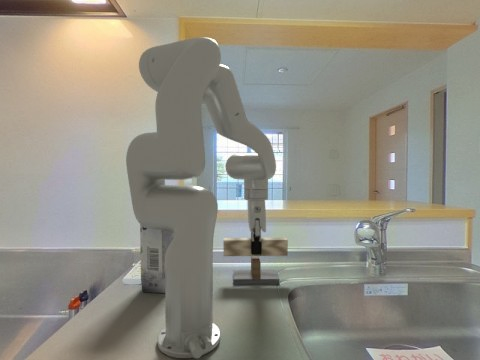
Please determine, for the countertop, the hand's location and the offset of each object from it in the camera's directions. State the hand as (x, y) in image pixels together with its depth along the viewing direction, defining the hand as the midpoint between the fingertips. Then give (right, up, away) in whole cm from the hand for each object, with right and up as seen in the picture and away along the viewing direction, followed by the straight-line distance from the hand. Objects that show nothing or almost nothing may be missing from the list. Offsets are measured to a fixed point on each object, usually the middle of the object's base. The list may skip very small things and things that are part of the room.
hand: (255, 251), depth 94 cm
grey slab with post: (0, -9, 0) cm, 9 cm away
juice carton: (-29, -9, -6) cm, 31 cm away
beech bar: (0, -1, 0) cm, 1 cm away
